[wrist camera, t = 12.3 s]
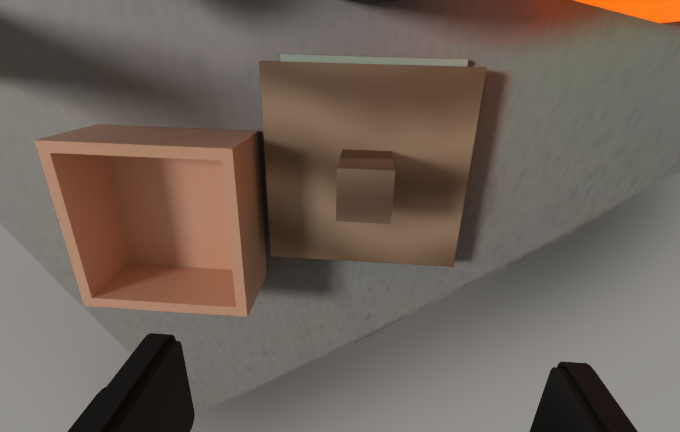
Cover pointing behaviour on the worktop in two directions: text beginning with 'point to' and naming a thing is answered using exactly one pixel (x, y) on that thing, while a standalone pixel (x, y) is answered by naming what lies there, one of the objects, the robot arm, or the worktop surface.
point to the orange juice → (642, 8)
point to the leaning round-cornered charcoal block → (374, 0)
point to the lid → (368, 159)
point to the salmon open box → (160, 216)
